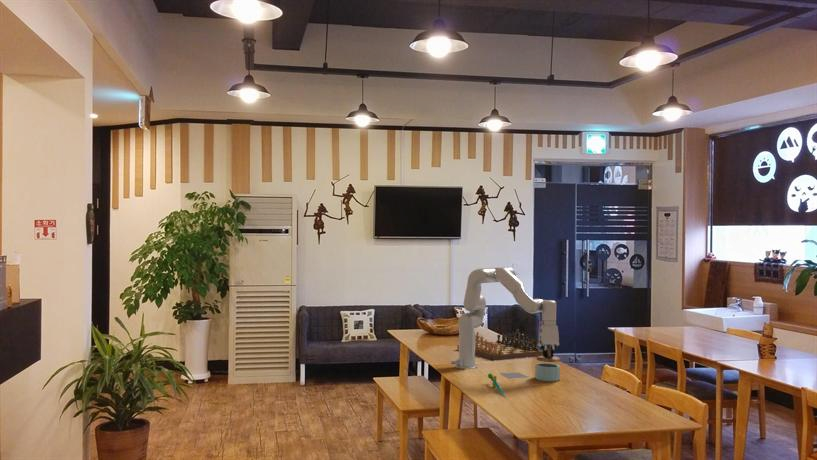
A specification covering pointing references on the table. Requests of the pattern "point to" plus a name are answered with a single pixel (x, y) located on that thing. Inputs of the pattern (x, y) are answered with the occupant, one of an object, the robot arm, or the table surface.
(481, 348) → the chess set
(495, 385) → the toy sword
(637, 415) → the table surface
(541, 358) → the lid
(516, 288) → the robot arm
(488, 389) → the table surface
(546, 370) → the bowl
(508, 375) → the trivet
